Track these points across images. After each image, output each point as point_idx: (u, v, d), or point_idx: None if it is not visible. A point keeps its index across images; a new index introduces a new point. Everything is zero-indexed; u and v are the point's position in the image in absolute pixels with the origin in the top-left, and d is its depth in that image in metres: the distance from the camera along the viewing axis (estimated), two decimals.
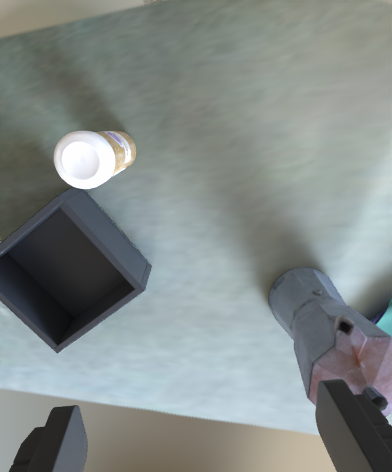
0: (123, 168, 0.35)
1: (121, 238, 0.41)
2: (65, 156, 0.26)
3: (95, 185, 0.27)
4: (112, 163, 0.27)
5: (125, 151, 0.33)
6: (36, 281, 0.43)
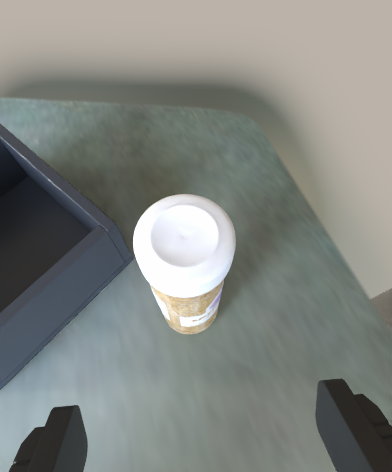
0: (169, 317, 0.22)
1: (50, 329, 0.24)
2: (187, 210, 0.15)
3: (142, 264, 0.14)
4: (188, 291, 0.14)
5: (199, 316, 0.20)
6: None
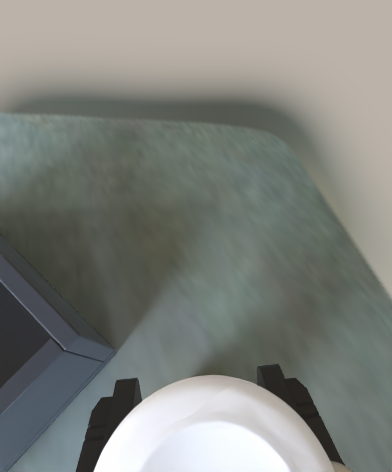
0: None
1: None
2: (220, 435, 0.06)
3: None
4: None
5: None
6: None
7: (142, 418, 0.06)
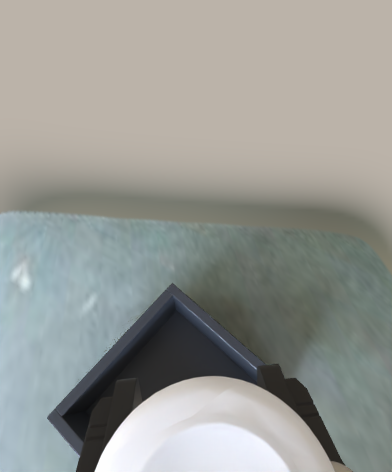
0: None
1: None
2: (221, 436, 0.06)
3: None
4: None
5: None
6: (141, 349, 0.32)
7: (143, 419, 0.06)
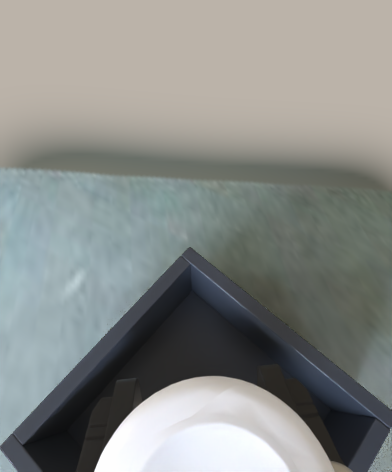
0: None
1: None
2: (220, 436, 0.06)
3: None
4: None
5: None
6: (144, 343, 0.23)
7: (142, 419, 0.06)
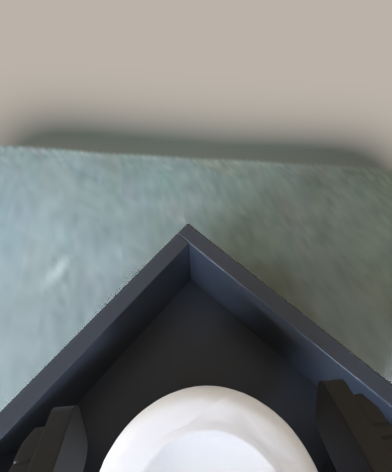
0: None
1: None
2: (214, 443, 0.06)
3: None
4: None
5: None
6: (135, 339, 0.20)
7: (142, 427, 0.07)
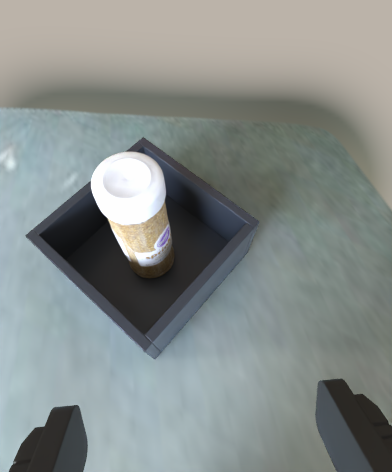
0: (129, 257, 0.28)
1: (195, 308, 0.30)
2: (130, 161, 0.21)
3: (96, 197, 0.20)
4: (129, 216, 0.20)
5: (150, 253, 0.26)
6: None
7: (108, 158, 0.21)
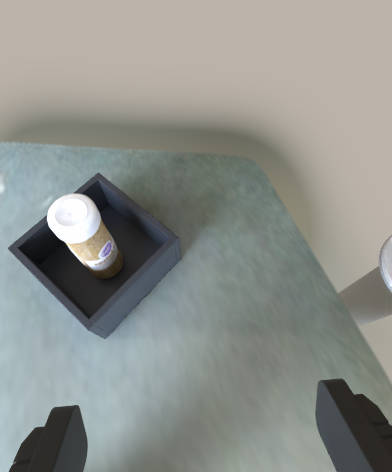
0: (83, 263, 0.38)
1: (135, 301, 0.40)
2: (74, 201, 0.31)
3: (50, 225, 0.30)
4: (72, 238, 0.30)
5: (96, 261, 0.36)
6: None
7: (59, 198, 0.31)
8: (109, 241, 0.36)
